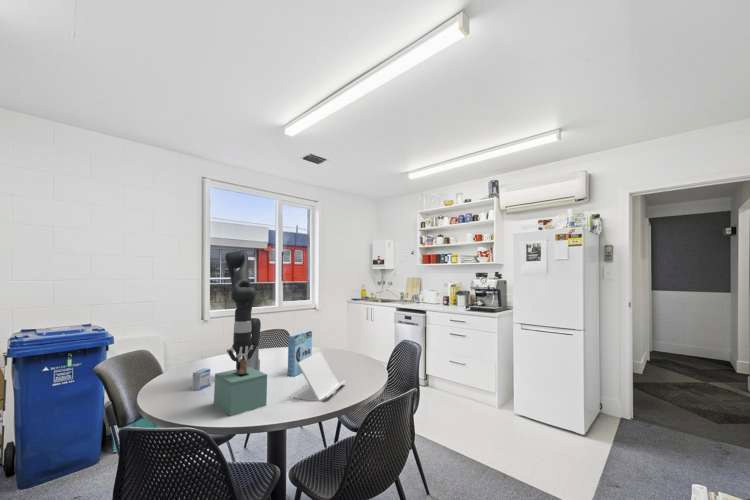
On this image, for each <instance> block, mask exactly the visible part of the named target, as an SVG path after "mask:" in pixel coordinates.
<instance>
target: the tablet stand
mask: <svg viewBox="0 0 750 500" xmlns="http://www.w3.org/2000/svg"><path fill="white" fill-rule="evenodd" d="M297 365H298V366H299V368H300V370H301V372H302V375H303V376H304V379H305V380H306V382H307V386H306V387H304V388H302V390H299V392H297V393H296V394H294V395H293V396H292V399H296V400H305V401H314V402H323V401H324V400H326V399H327V398H329V397H330V396H331V395H332V394H334V392H335V391H337V390H338V389H339V388H340V387H341V386H342V385H343V384H344V383H346V379H343V380H342V381H341V382H339V381H338V379H337V378H336V376H335V374H334V373H333V371H332V369H331V367H330V366H329V364H328V363H327V360H326V359H325V357H324V356H323V353H322V352H321V351H317V352H316V353H313V354H312V356H310V357H308V358H306V359H304V360H302V361H300V362H298V363H297Z"/></svg>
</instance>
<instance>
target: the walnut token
mask: <svg viewBox="0 0 750 500" xmlns="http://www.w3.org/2000/svg"><path fill="white" fill-rule="evenodd" d="M235 370H236V372H237V373H240V374H244V373H246V371H247V360H243V359H242V358H241V361H240V370H237V369H235Z"/></svg>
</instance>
